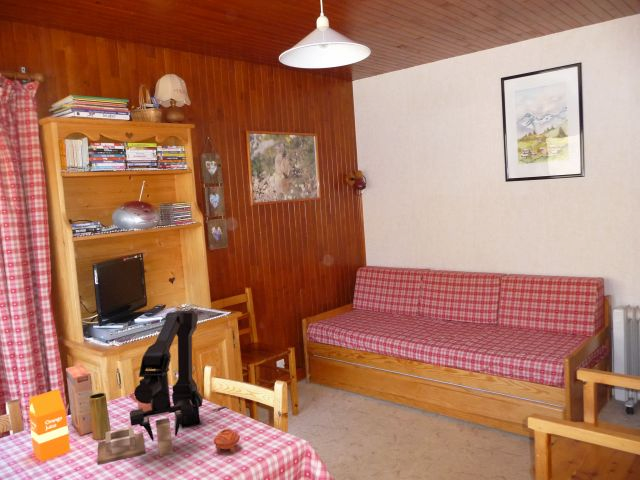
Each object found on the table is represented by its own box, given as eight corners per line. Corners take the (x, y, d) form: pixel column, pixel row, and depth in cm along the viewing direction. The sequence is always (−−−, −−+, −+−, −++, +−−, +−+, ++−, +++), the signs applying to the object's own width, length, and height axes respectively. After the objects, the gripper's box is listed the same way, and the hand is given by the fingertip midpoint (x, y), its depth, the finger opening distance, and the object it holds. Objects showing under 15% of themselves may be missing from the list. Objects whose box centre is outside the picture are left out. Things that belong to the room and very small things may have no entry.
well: (143, 435, 185) (141, 421, 185) (145, 453, 172) (143, 438, 171) (98, 445, 180) (96, 430, 180) (97, 464, 167) (95, 449, 167)
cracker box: (98, 431, 191) (91, 372, 189) (79, 436, 188) (72, 377, 186) (89, 418, 203) (82, 363, 200) (71, 423, 199) (64, 367, 197)
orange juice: (70, 451, 177) (63, 391, 175) (41, 462, 171) (33, 400, 169) (62, 444, 183) (54, 386, 181) (33, 454, 177) (25, 394, 175)
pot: (216, 458, 165) (213, 435, 166) (214, 452, 173) (211, 430, 174) (242, 451, 168) (239, 429, 168) (240, 446, 175) (237, 425, 176)
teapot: (153, 417, 200) (150, 391, 199) (129, 413, 205) (126, 388, 204) (175, 404, 210) (172, 380, 209) (151, 401, 215) (149, 377, 214)
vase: (105, 440, 183) (100, 399, 182) (88, 439, 185) (83, 399, 183) (115, 432, 189) (110, 392, 188) (99, 431, 191) (94, 391, 189)
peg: (171, 447, 175) (168, 417, 174) (173, 453, 171) (169, 422, 170) (158, 450, 173) (155, 420, 172) (159, 456, 170) (156, 425, 169)
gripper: (186, 376, 181) (191, 421, 183) (126, 387, 174) (132, 434, 176) (191, 387, 170) (196, 435, 172) (128, 399, 164) (133, 449, 166)
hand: (164, 438), depth 172 cm, fingers open, 7 cm apart
